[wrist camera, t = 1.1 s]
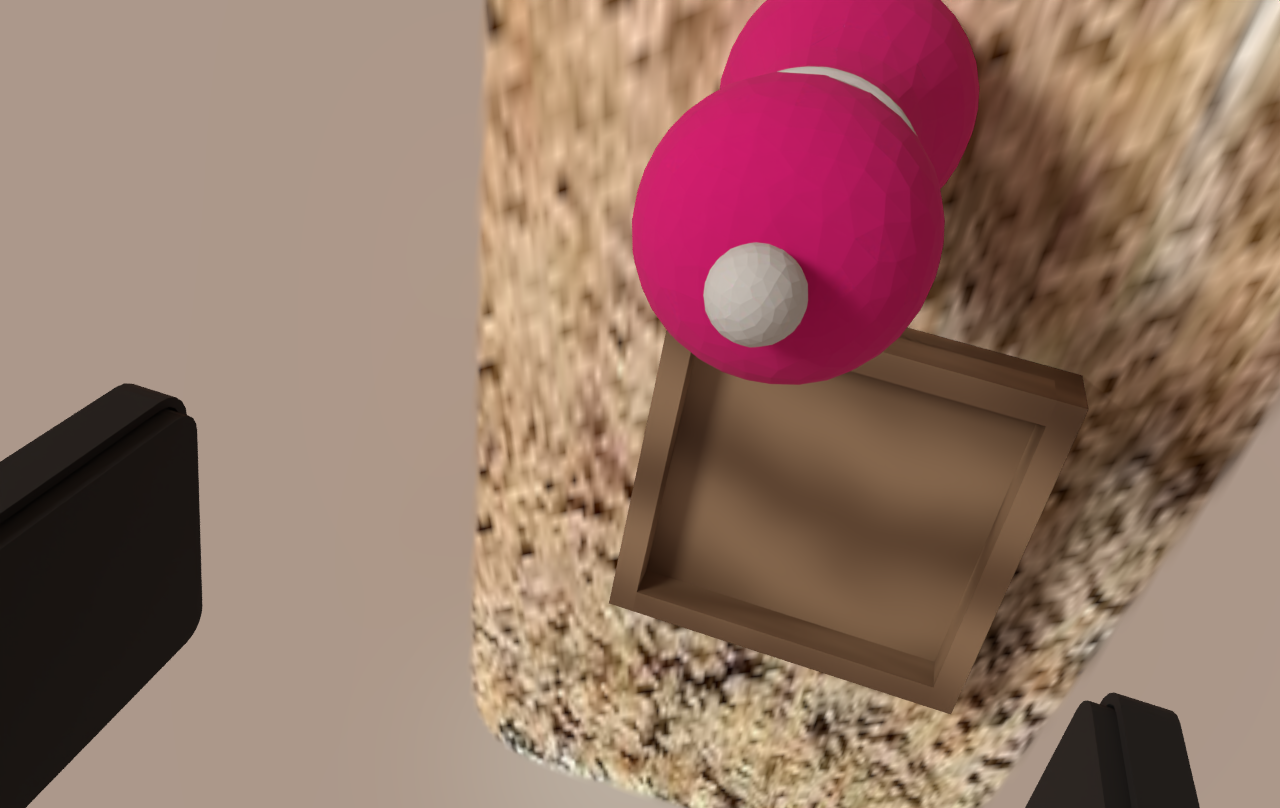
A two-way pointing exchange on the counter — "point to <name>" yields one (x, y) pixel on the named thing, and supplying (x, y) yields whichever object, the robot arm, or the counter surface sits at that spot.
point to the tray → (847, 507)
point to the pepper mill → (809, 188)
